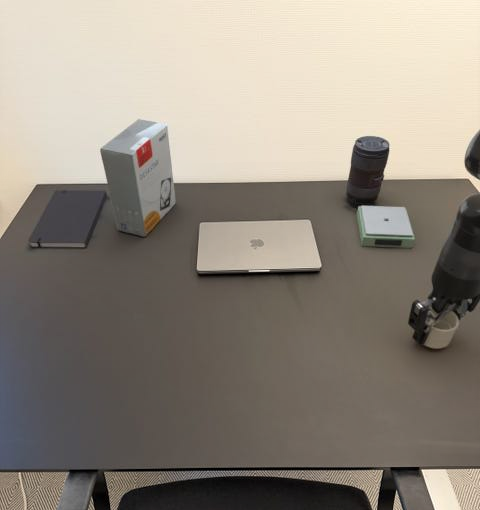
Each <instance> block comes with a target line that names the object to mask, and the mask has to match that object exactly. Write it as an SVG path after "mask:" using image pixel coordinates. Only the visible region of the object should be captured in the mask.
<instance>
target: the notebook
mask: <svg viewBox="0 0 480 510" xmlns="http://www.w3.org/2000/svg"><path fill="white" fill-rule="evenodd" d="M107 197H108V193H107V191H106V190H96V189H95V190H91V189H90V190H88V189H87V190H84V189H83V190H82V189H81V190H79V189H78V190H77V189H74V190H73V189H68V190H67V189H66V190H65V189H64V190H63V189H58V190H55V191H54V192H53V194H52V196H51V197H50V199H49V201H48V203H47V204H46V207H45V209H44V210H43V212H42V214H41V216H40V218H39V219H38V221H37V223H36V225H35V227H34V229H33V231H32V232H31V234H30V235H29V238H28V240H27V241H28V243H29V244H30V247H31V248H35V249H37V248H39V249H41V248H43V249H45V248H46V249H87V247H88V245H89V242H90V239H91V237H92V234H93V232H94V229H95V227H96V225H97V223H98V219H99V217H100V214H101V212H102V210H103V207H104V204H105V201H106V199H107Z"/></svg>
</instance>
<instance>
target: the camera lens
mask: <svg viewBox="0 0 480 510" xmlns="http://www.w3.org/2000/svg"><path fill="white" fill-rule="evenodd" d="M389 155H390V142H389V141H388V140H387V139H385V138H384V137H380V136H375V135H365V136H360V137H358V138H356V140H355V141H354V144H353V147H352V152H351V158H350V167H349V172H348V173H349V174H348V178H347V183H346V193H345V195H346V202H347V204H348V205H350V207H353V208H356V209H358V206H375V203H376V201H377V200H378V197H379V194H380V193H381V189H382V184H383V183H382V182H383V181H384V178H385V174H384V173H385V169H386V167H387V164H388V159H389Z"/></svg>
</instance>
